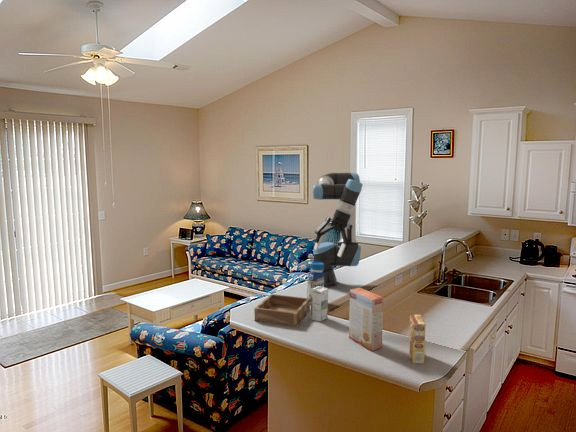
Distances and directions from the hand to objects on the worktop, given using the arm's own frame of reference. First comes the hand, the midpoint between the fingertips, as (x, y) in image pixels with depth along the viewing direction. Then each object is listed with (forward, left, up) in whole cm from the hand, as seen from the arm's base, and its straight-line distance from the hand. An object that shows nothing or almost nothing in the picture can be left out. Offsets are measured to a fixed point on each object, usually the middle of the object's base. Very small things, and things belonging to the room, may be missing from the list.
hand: (327, 253), depth 202 cm
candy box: (+37, +44, -28) cm, 64 cm away
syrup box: (+14, 0, -28) cm, 31 cm away
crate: (+16, -17, -28) cm, 36 cm away
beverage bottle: (-4, -8, -27) cm, 29 cm away
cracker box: (+31, +24, -28) cm, 48 cm away
